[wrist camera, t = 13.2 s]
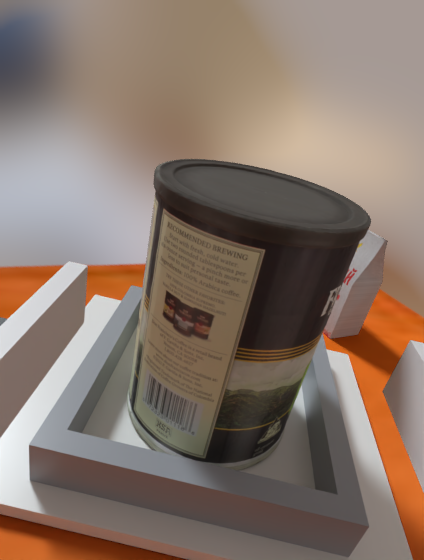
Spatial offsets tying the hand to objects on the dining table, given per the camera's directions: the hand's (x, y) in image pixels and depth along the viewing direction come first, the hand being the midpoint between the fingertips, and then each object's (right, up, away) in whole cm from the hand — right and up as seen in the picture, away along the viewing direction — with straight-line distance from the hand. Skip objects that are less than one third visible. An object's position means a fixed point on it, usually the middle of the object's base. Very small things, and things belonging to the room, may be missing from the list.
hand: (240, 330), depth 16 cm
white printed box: (+10, -2, +24) cm, 26 cm away
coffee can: (-2, -6, +9) cm, 11 cm away
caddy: (-2, -6, +10) cm, 12 cm away
